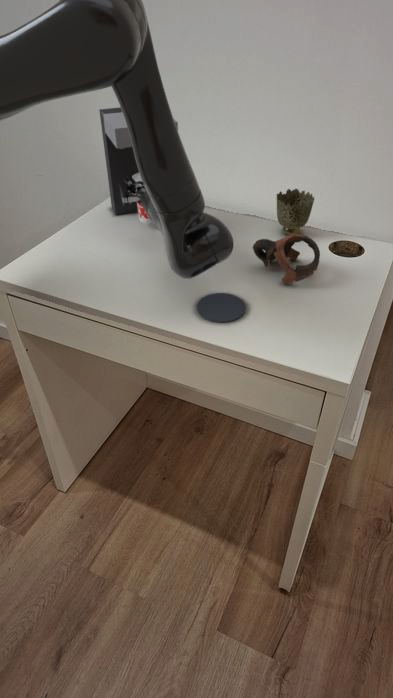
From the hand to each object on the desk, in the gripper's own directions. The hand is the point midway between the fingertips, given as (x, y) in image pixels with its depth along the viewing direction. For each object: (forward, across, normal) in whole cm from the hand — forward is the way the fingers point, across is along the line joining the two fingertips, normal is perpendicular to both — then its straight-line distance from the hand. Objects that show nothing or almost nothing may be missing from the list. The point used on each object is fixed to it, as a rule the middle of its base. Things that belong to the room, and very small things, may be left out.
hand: (144, 177), depth 99 cm
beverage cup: (-2, 0, +8) cm, 9 cm away
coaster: (-36, -3, +10) cm, 38 cm away
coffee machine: (+2, 0, +10) cm, 10 cm away
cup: (-16, -27, +10) cm, 33 cm away
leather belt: (-29, -18, +10) cm, 36 cm away
